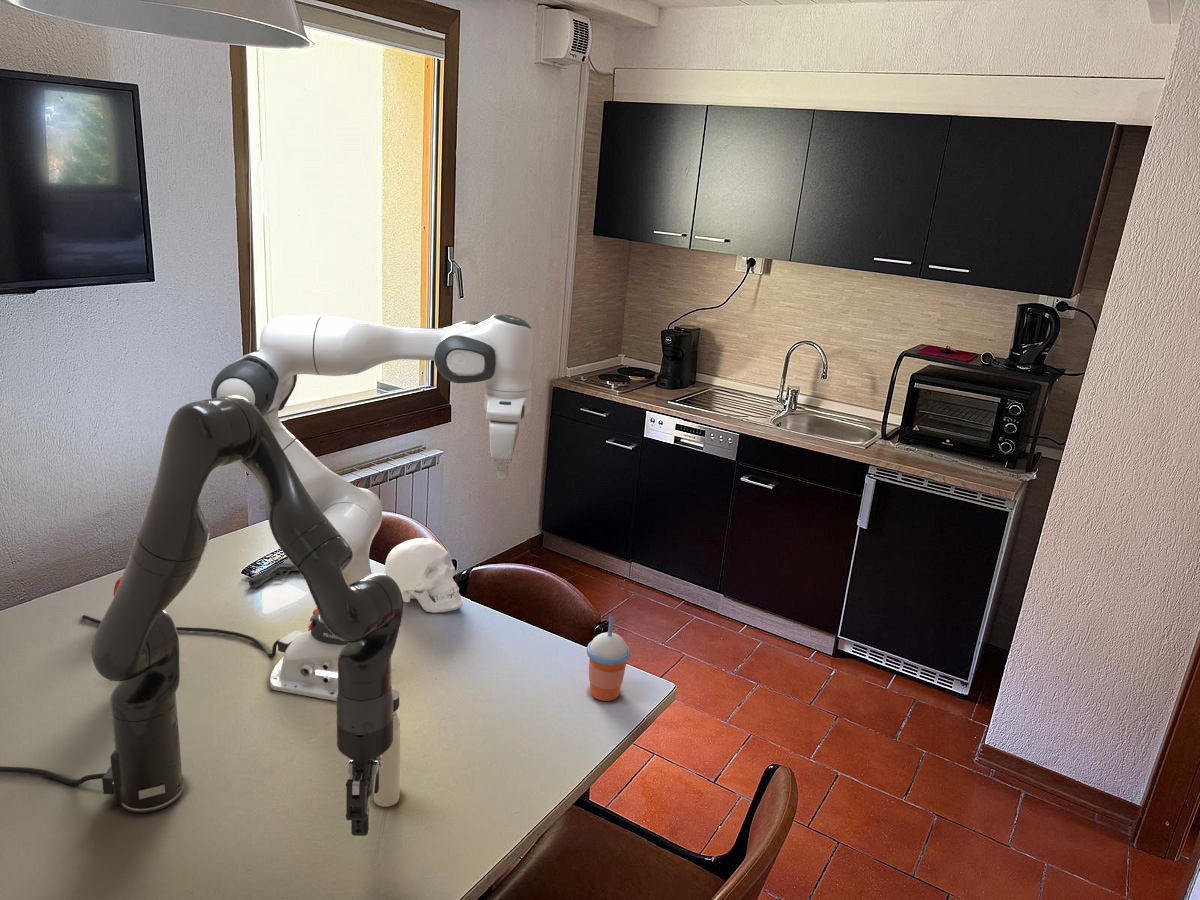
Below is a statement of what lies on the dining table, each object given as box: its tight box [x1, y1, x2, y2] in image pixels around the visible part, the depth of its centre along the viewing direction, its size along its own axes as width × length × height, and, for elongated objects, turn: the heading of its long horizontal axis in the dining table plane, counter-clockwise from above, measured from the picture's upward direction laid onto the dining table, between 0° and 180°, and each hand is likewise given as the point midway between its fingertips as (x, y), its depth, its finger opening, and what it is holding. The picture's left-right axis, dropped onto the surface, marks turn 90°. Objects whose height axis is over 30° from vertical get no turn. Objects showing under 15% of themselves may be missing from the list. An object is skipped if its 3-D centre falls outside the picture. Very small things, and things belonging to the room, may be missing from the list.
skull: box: [384, 537, 465, 614], centre depth 211 cm, size 13×22×16 cm, turn 67°
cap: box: [392, 688, 400, 712], centre depth 140 cm, size 4×4×2 cm
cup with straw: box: [586, 615, 631, 702], centre depth 178 cm, size 9×9×18 cm
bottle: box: [373, 710, 401, 808], centre depth 143 cm, size 4×4×20 cm
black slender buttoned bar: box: [248, 558, 299, 588], centre depth 220 cm, size 2×18×12 cm
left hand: (365, 812), depth 122 cm, fingers open, 8 cm apart
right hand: (504, 470), depth 166 cm, fingers open, 8 cm apart
